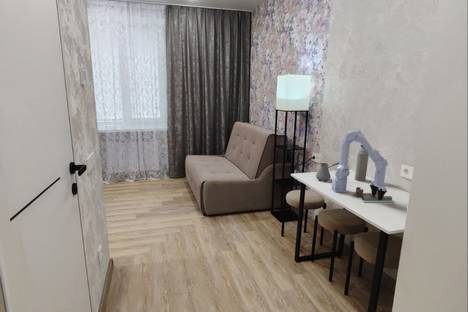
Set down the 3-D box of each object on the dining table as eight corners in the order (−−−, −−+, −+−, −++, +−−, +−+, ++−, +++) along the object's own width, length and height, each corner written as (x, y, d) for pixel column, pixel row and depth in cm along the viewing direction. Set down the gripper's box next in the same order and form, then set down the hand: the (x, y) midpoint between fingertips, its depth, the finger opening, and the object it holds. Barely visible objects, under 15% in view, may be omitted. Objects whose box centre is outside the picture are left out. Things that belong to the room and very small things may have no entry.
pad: (364, 202, 187) (364, 201, 187) (358, 198, 194) (359, 197, 194) (394, 202, 189) (394, 201, 188) (388, 198, 195) (388, 197, 195)
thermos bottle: (366, 179, 235) (370, 145, 228) (364, 182, 228) (369, 146, 222) (355, 177, 239) (359, 143, 232) (353, 180, 232) (357, 145, 226)
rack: (356, 197, 197) (357, 189, 195) (353, 194, 201) (353, 187, 200) (383, 197, 198) (384, 189, 196) (379, 194, 203) (380, 187, 201)
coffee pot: (318, 182, 226) (320, 163, 223) (313, 177, 237) (314, 159, 234) (345, 181, 229) (347, 162, 225) (338, 177, 240) (340, 159, 236)
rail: (363, 200, 189) (363, 197, 189) (361, 198, 192) (361, 196, 191) (391, 200, 191) (392, 197, 190) (389, 198, 193) (390, 195, 192)
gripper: (392, 181, 181) (389, 201, 184) (379, 174, 195) (376, 193, 198) (381, 181, 180) (378, 202, 184) (369, 174, 195) (366, 193, 198)
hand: (376, 197), depth 191 cm, fingers open, 7 cm apart
